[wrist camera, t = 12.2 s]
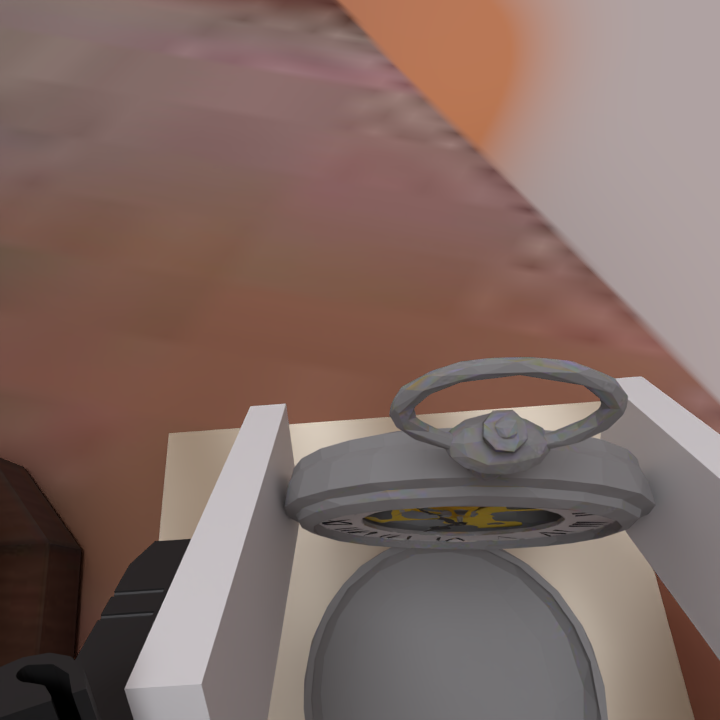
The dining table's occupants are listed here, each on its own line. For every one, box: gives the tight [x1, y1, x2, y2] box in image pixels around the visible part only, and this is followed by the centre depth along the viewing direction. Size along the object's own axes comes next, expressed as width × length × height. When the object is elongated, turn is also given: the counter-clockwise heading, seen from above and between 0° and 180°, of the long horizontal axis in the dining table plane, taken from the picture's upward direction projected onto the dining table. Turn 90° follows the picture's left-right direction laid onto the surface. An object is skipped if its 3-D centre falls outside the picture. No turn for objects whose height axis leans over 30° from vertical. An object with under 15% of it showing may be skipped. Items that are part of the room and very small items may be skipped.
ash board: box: [159, 401, 695, 720], centre depth 15 cm, size 14×12×1 cm
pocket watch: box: [284, 357, 656, 720], centre depth 9 cm, size 8×8×10 cm
